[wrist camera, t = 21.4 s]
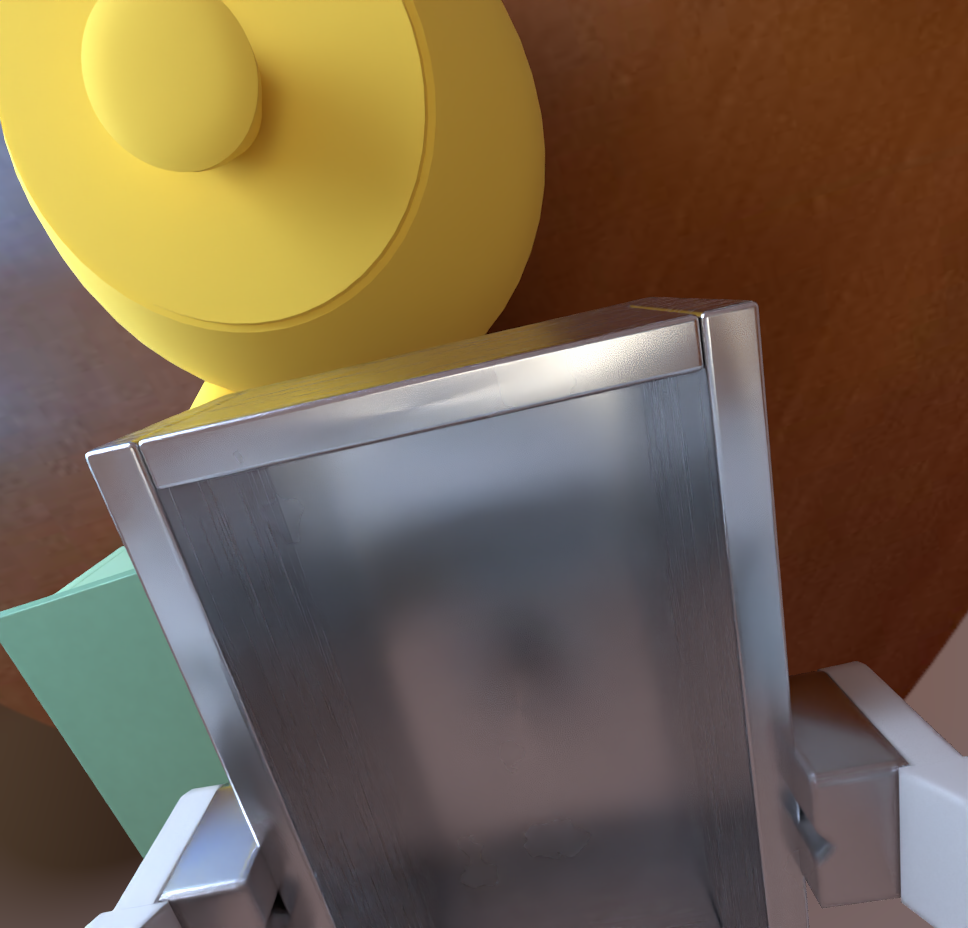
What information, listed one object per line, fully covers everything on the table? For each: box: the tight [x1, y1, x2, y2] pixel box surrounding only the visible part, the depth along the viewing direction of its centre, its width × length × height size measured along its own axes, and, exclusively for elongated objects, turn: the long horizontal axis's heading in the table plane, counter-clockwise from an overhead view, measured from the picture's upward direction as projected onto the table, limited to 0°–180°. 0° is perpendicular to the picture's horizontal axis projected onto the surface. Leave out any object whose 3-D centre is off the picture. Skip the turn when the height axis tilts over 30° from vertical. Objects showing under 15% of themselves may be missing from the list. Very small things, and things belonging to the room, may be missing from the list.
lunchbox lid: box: [0, 569, 229, 858], centre depth 22 cm, size 12×10×1 cm
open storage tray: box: [86, 297, 809, 928], centre depth 8 cm, size 11×6×3 cm, turn 13°
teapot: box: [0, 0, 545, 409], centre depth 17 cm, size 20×16×14 cm
